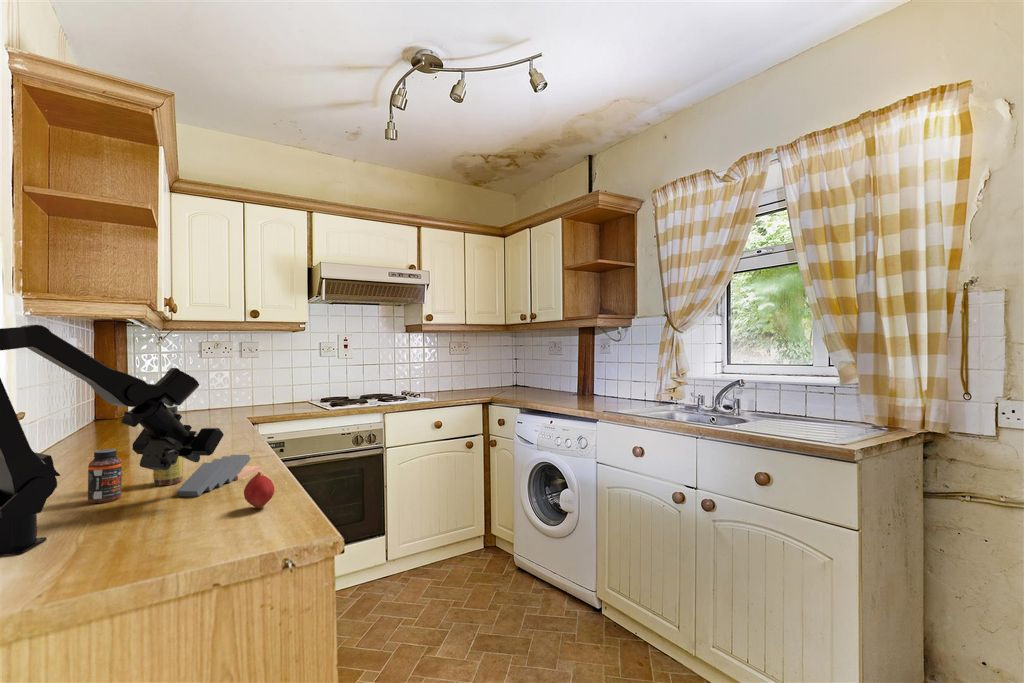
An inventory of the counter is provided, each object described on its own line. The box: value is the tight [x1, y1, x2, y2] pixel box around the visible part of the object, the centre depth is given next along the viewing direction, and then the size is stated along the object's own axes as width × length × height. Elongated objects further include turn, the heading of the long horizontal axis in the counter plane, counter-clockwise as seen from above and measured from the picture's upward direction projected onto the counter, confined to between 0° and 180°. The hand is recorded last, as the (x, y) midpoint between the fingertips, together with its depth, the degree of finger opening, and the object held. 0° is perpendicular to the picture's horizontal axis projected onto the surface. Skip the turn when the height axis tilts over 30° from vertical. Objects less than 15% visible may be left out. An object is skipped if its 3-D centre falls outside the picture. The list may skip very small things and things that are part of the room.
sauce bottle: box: [152, 404, 184, 486], centre depth 126 cm, size 7×6×20 cm
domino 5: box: [232, 465, 262, 481], centre depth 134 cm, size 2×5×10 cm
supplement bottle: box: [87, 448, 123, 504], centre depth 113 cm, size 6×6×11 cm
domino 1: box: [176, 462, 224, 497], centre depth 119 cm, size 2×5×10 cm
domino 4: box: [224, 454, 251, 484], centre depth 130 cm, size 2×5×10 cm
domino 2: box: [204, 458, 234, 492], centre depth 123 cm, size 2×5×10 cm
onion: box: [243, 470, 276, 509], centre depth 106 cm, size 6×6×8 cm
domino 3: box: [214, 455, 243, 488], centre depth 127 cm, size 2×5×10 cm
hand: (197, 460), depth 118 cm, fingers closed
